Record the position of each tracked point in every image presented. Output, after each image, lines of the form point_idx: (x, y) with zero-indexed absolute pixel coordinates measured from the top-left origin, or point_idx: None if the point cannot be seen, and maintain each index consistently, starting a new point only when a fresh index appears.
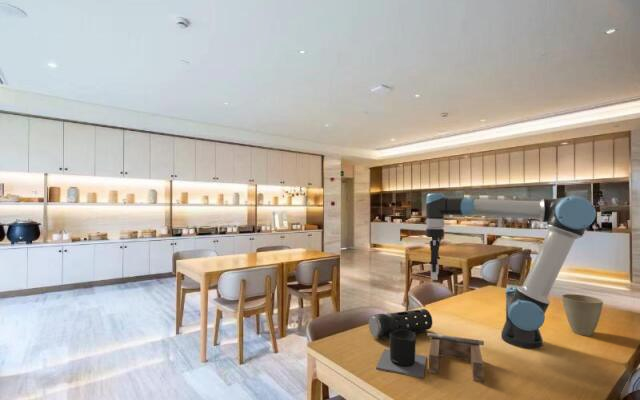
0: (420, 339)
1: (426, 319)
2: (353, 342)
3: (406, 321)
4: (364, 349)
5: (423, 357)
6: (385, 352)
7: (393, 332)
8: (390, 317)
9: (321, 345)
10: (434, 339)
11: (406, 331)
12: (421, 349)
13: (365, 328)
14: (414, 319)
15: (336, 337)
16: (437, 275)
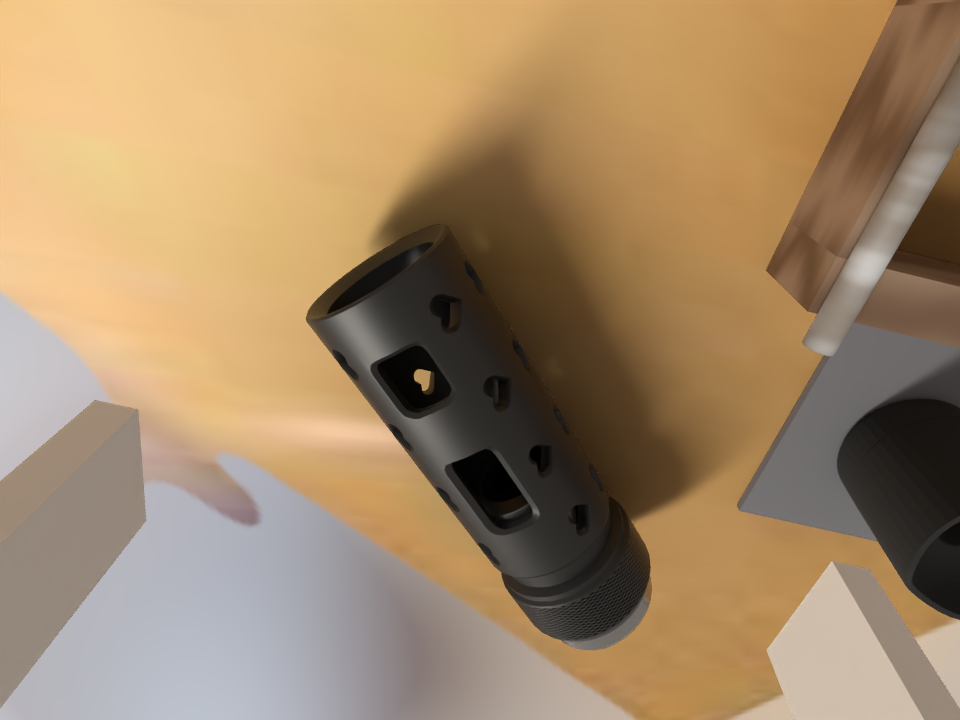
0: (564, 303)
1: (472, 295)
2: None
3: (562, 449)
4: (720, 578)
5: (868, 339)
6: (783, 510)
7: (912, 587)
8: (576, 560)
9: (677, 708)
10: (866, 301)
11: (939, 530)
12: (725, 323)
13: (441, 564)
14: (523, 396)
15: (584, 667)
16: (928, 662)
